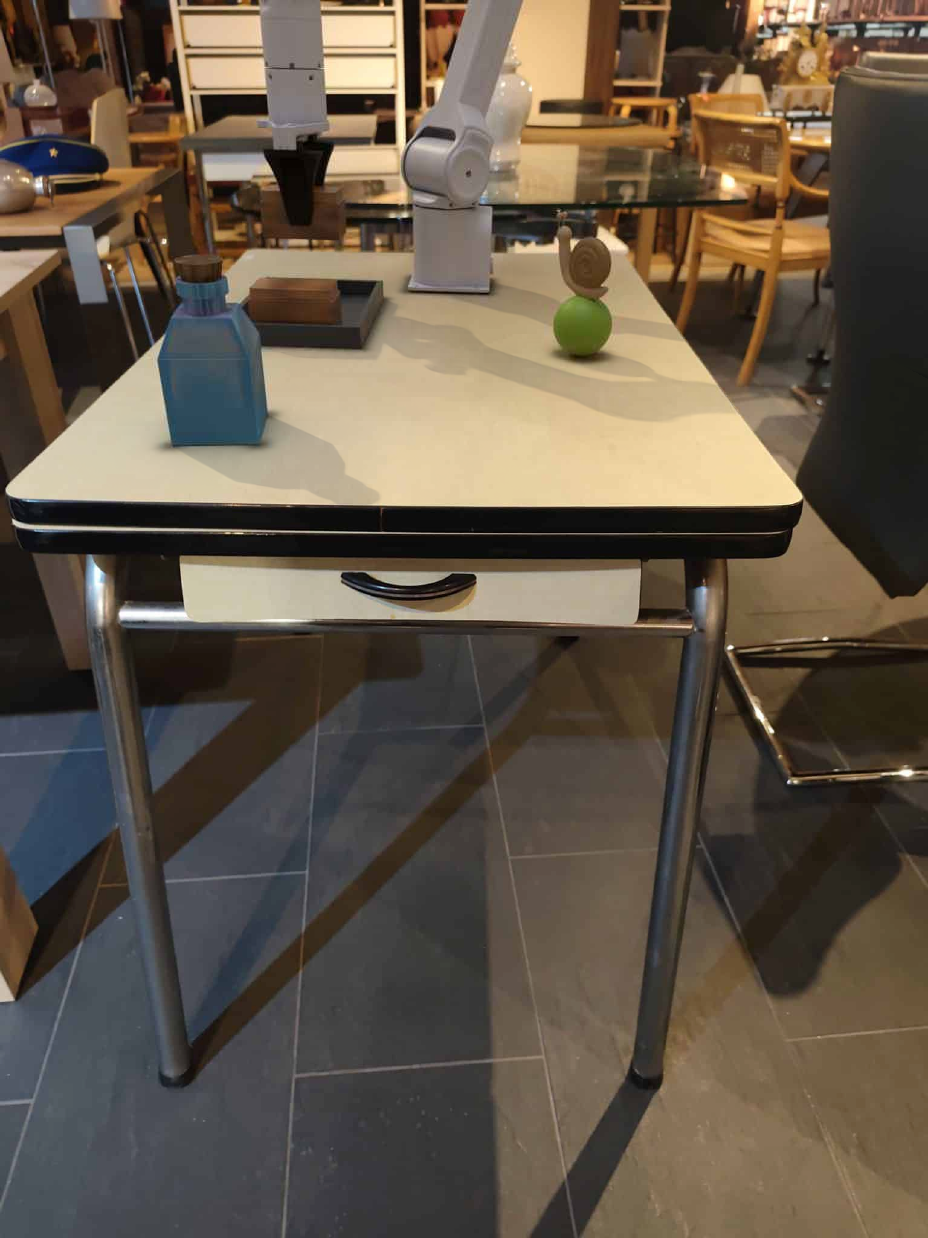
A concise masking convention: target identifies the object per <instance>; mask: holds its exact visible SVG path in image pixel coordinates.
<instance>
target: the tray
mask: <svg viewBox="0 0 928 1238" xmlns="http://www.w3.org/2000/svg"><path fill="white" fill-rule="evenodd" d="M265 278H282V279H316V280H337V285H338V290H339V291H340V298H341V316H342V325H322V324H289V323H257V322H252V323H253V325H254V326H255V328H256V329H257V331H258V332H259V334H260V343H261V346H271V347H272V346H273V347H299V348H300V347H306V348H335V349H336V348H337V349H362V347H363V344H364V343H365V341H366V339H367V336H368V334H369V332H370V329H371V327H372V325H373V323H374V320H375V318H376V317H377V314H378V312H379V310H380V307H381V306H382V303H383V301H384V297H385V296H384V295H385V294H384V280H381V279H378V280H377V279H345V278H317V277H316V278H313V277H312V278H310V277H283V276H282V277H281V276H280V277H275V276H266V277H265ZM249 298H250V293H249V294H248V295H247V296H246V297H244V299H242V301H241V302H239V304H240V306H241V307H242V309H243V310H244V312H245V313H246V315H247V316H248V317H249V319H250V314H249V305H248V299H249Z"/></svg>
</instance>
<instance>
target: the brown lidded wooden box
mask: <svg viewBox="0 0 928 1238" xmlns="http://www.w3.org/2000/svg"><path fill="white" fill-rule="evenodd" d="M260 195H261V200H260V201H259V207H260V208H259V209H260V218H261V228H262V237H263V239H277V240H278V239H279V240H280V239H281V240H309V241H341V239H342V238H343V237H344V236H345V235H346V234H347V216H346V198H345V196H343V187H342V186H325V185H324V186H314V201H313V215H312V221H311V225H310V226H293V225H290V223H289V221H288V218H287V214H286V211H285V207H284V203H283V200H282V196H281V193H280V189H279V186H278V184H269V185H268V186H266V187H264V188H263V189H261V190H260Z"/></svg>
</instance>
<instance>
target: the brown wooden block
mask: <svg viewBox="0 0 928 1238" xmlns="http://www.w3.org/2000/svg"><path fill="white" fill-rule="evenodd" d="M282 278H283V277H282ZM282 278H266V277H259V278H258V279H256V280H255V282H254V283H253V284H252V285H251V286H250V287H249V288H248V289H249V290H248V291H249V294H250V298H249V299H248V305H249V314H250V320H251V322H257V323H289V324H322V325H342V316H341V298H340V291H339V290H338V285H337V280H316V279H317V278H316V279H282Z"/></svg>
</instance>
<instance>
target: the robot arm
mask: <svg viewBox="0 0 928 1238" xmlns="http://www.w3.org/2000/svg"><path fill="white" fill-rule="evenodd" d="M523 2H524V0H468V1H467V5H466V8H465V11H464V15H463V18H462V21H461V24H460V27H459V31H458V34H457V37H456V41H455V44H454V47H453V51H452V54H451V57H450V60H449V64H448V67H447V70H446V74H445V77H444V80H443V83H442V87H441V90H440V93H439V97H438V100H437V101H436V102H435V104H434V105H433V106H431V107H430V109H428V111H426V113H424V115H422V116H421V118H420V119H419V122H418V126H417V129H416V131H415V133H414V135H413V136H412V137H411V138H410V140H409V141H408V142H407V143H406V145H405V147H403V148H404V149H403V150H402V153H401V157H400V174H401V177H402V180H403V182H404V184H405V185H406V187H407V188H408V189H409V190H410V200H411V201H412V235H413V236H412V237H413V241H412V242H413V243H412V245H413V248H412V249H413V250H412V251H413V272H412V274H411V277H410V279H409V282H408V285H407V290H408V291H413V292H414V291H416V292H417V291H418V292H449V293H450V292H452V293H478V294H479V293H482V294H483V293H484V294H487V293H489V292H490V286H491V275H492V276H493V275H494V261H495V260H494V259H495V258H493V257H492V233H493V232H492V231H493V226H492V225H493V207H492V205H491V206H490V205H479V203H480V202H479V201H480V198H482V196H483V195H484V193H485V192H486V190H487V187H488V185H489V181H490V176H491V175H490V174H491V163H490V161H491V154H492V150H493V147H494V144H495V139H494V136H493V134H492V132H491V130H490V128H489V125H488V124H487V121H486V119H487V118H486V117H487V116H488V112H489V108H490V105H491V102H492V99H493V97H494V93H495V90H496V87H497V84H498V80H499V78H500V75H501V71H502V68H503V66H504V63H505V59H506V56H507V53H508V49H509V46H510V44H511V40H512V36H513V33H514V30H515V28H516V24H517V22H518V19H519V16H520V11H521V10H522V5H523ZM321 6H322V3H321V0H258V7H259V21H260V32H261V33H260V34H261V45H262V55H263V66H264V79H265V89H266V100H267V112H268V114H267V115H268V118H260V119H257V120H256V125H257V128H258V129H267V130H268V131H270V132H271V133H272V145H267V146H264V147H262V154H263V157H264V159H265V162H267V164H268V166H269V168H270V169H271V172H272V174H273V176H274V179H275V180H276V183H277V185H278V186H279V189H280V193H281V196H282V200H283V203H284V207H285V211H286V214H287V218H288V221H289V223H290V225H293V226H310V225H311V221H312V215H313V201H314V186H325V182H326V181H325V180H326V176H327V175H326V174H327V170H328V166H329V163H330V160H331V157H332V155H333V152H334V148H335V141H333V140H328V139H327V140H326V139H325V140H324V139H323V140H322V139H318V138H322V137H323V132H328V131H330V120H328V112H327V109H328V108H327V93H326V91H327V90H326V75H325V74H326V73H325V57H324V55H325V54H324V40H323V39H324V37H323V21H322V20H323V19H322V7H321Z"/></svg>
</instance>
